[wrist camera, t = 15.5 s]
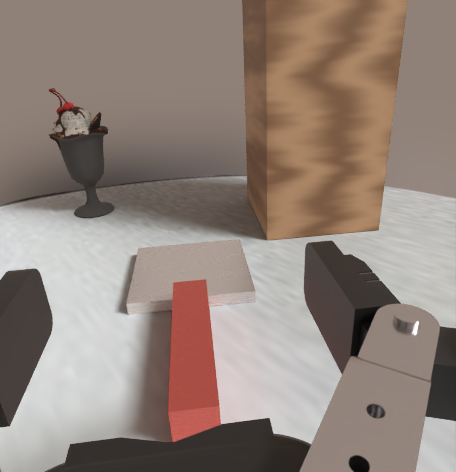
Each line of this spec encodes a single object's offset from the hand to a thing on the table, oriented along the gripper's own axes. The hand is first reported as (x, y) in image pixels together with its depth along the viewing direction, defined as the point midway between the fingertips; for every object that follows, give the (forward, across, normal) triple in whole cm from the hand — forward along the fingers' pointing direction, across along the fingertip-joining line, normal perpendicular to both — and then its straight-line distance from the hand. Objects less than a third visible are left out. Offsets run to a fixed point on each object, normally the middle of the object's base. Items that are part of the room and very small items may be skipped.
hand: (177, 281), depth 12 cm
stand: (+33, -14, +12) cm, 37 cm away
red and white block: (+14, 0, +12) cm, 19 cm away
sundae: (+39, +12, +12) cm, 43 cm away
